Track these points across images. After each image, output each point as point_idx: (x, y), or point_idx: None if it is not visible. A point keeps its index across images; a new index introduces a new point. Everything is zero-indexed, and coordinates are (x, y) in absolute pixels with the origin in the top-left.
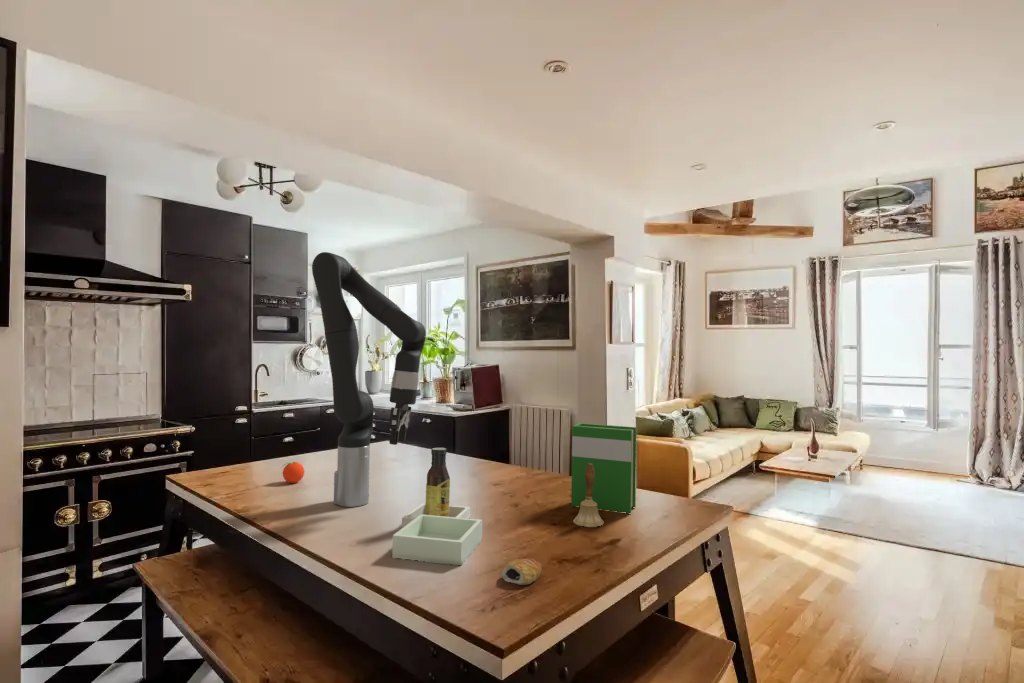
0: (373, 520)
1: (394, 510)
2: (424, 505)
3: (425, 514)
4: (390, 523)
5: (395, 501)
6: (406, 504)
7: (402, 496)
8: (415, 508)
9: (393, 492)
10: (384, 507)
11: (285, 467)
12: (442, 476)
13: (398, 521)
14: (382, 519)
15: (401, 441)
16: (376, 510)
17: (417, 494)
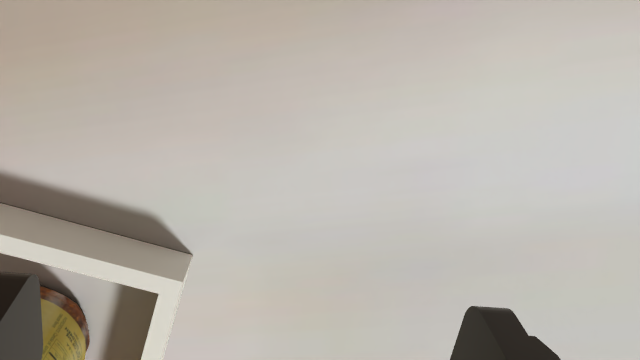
0: (59, 16)
1: (249, 108)
2: (153, 289)
3: None
4: (19, 117)
5: (428, 90)
6: (362, 159)
7: (530, 118)
8: (73, 254)
9: (632, 52)
10: (308, 42)
11: None
12: None
13: (57, 153)
14: (82, 64)
15: (453, 349)
16: (249, 3)
17: (558, 197)
